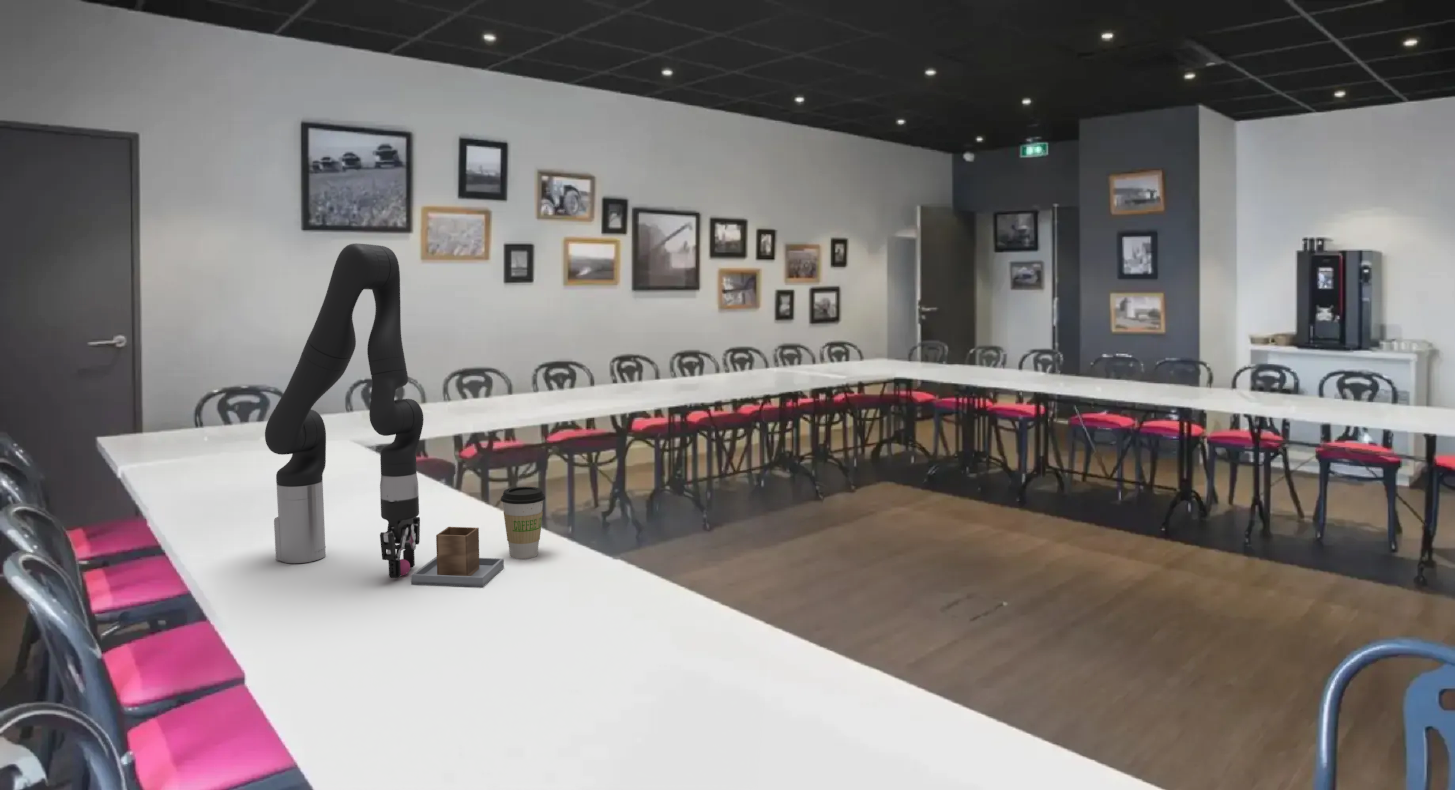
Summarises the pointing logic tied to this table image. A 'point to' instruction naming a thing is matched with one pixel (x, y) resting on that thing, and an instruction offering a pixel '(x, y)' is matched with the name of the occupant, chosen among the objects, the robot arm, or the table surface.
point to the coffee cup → (523, 520)
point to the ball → (404, 566)
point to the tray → (478, 579)
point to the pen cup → (458, 551)
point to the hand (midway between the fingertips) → (402, 572)
